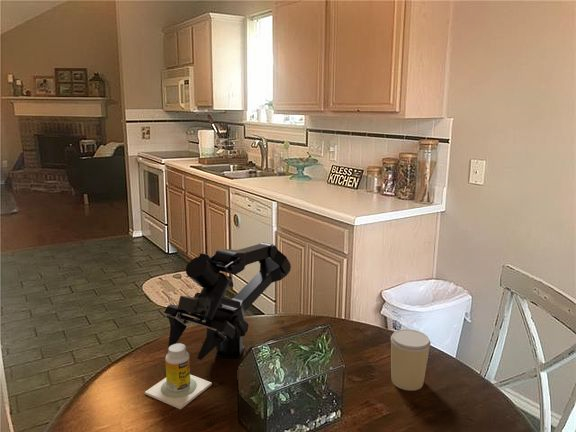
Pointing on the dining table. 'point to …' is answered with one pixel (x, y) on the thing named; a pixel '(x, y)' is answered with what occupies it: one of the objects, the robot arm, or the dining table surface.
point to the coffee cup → (409, 358)
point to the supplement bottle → (177, 368)
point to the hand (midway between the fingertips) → (183, 354)
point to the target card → (180, 397)
